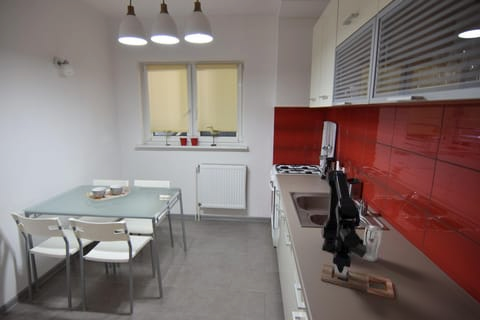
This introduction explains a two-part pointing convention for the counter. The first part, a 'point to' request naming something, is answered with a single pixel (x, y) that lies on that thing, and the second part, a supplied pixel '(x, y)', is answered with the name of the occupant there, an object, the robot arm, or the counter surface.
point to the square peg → (340, 275)
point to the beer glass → (372, 242)
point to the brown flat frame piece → (358, 281)
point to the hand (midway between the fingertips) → (340, 269)
